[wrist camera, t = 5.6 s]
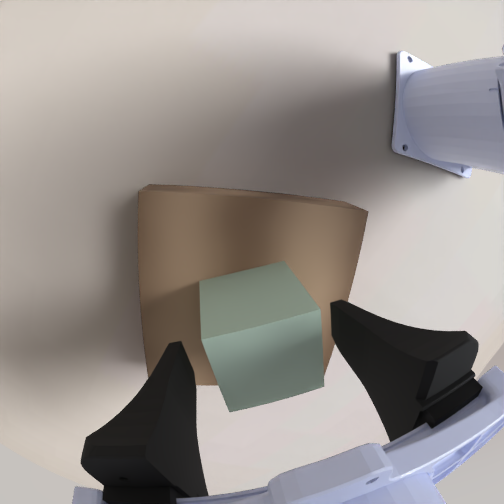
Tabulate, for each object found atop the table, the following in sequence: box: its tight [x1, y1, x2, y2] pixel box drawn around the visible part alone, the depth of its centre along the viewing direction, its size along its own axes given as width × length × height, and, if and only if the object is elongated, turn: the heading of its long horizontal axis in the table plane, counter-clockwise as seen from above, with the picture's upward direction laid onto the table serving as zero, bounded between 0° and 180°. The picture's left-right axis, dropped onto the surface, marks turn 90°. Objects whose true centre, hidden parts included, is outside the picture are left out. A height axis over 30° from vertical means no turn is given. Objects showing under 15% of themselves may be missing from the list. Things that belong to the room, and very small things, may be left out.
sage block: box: [199, 261, 324, 412], centre depth 13 cm, size 4×4×5 cm
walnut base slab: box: [138, 184, 368, 385], centre depth 17 cm, size 12×12×3 cm
